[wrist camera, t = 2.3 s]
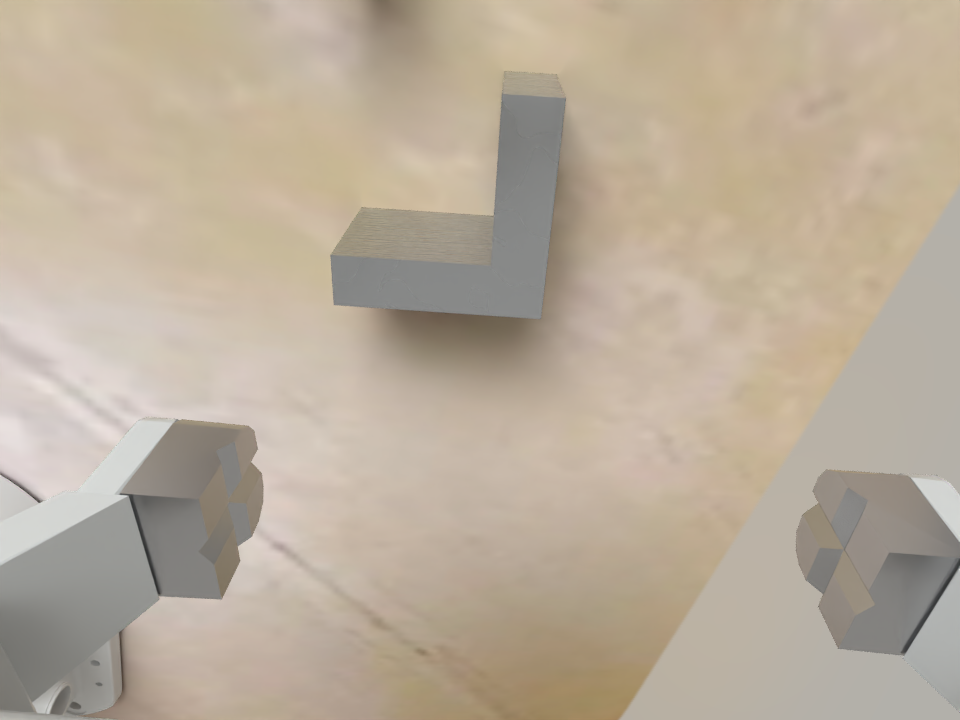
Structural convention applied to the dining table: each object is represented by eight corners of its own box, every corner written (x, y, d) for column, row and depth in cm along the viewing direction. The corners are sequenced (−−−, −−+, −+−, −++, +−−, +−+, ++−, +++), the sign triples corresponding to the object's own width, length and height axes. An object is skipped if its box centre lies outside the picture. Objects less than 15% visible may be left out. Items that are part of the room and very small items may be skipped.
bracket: (536, 262, 26) (540, 319, 22) (363, 250, 26) (333, 304, 22) (556, 74, 23) (565, 98, 18) (355, 61, 23) (318, 82, 18)
